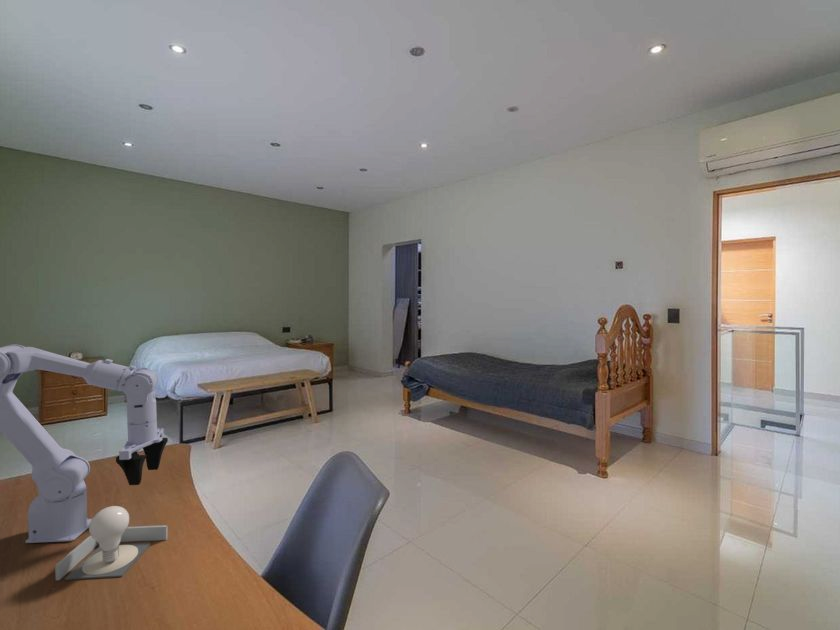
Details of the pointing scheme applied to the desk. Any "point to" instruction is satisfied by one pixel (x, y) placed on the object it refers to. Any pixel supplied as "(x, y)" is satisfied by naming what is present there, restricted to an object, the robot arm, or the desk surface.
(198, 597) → the desk surface
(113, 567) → the mat
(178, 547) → the desk surface
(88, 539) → the acrylic fence
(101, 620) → the desk surface
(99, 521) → the lightbulb
